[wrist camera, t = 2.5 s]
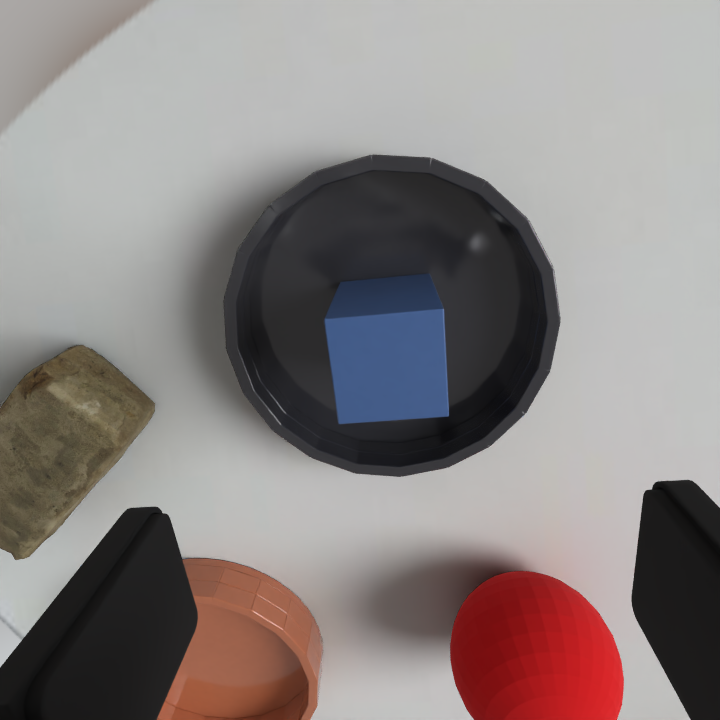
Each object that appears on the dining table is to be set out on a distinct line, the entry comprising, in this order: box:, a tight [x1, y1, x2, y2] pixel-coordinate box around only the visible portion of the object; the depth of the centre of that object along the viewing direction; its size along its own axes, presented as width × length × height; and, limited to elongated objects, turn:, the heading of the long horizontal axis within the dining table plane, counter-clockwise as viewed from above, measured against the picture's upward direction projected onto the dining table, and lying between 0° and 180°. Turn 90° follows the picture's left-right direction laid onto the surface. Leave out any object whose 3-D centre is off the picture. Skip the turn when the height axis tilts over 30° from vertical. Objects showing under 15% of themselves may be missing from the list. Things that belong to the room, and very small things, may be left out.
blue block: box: [324, 274, 449, 424], centre depth 22 cm, size 4×4×6 cm
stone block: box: [0, 345, 155, 560], centre depth 26 cm, size 6×12×5 cm, turn 138°
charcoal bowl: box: [224, 155, 561, 477], centre depth 24 cm, size 15×15×3 cm
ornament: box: [450, 571, 624, 720], centre depth 27 cm, size 9×9×10 cm
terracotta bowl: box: [157, 558, 323, 720], centre depth 33 cm, size 15×15×3 cm
